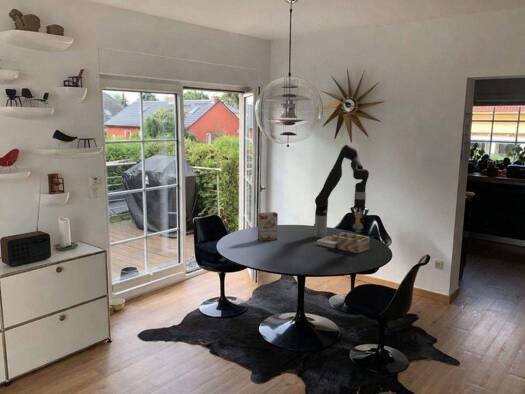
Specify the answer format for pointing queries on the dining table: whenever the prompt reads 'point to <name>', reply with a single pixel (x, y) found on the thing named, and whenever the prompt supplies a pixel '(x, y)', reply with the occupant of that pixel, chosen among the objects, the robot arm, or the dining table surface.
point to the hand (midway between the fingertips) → (359, 222)
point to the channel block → (352, 243)
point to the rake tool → (358, 222)
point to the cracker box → (267, 226)
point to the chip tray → (327, 242)
